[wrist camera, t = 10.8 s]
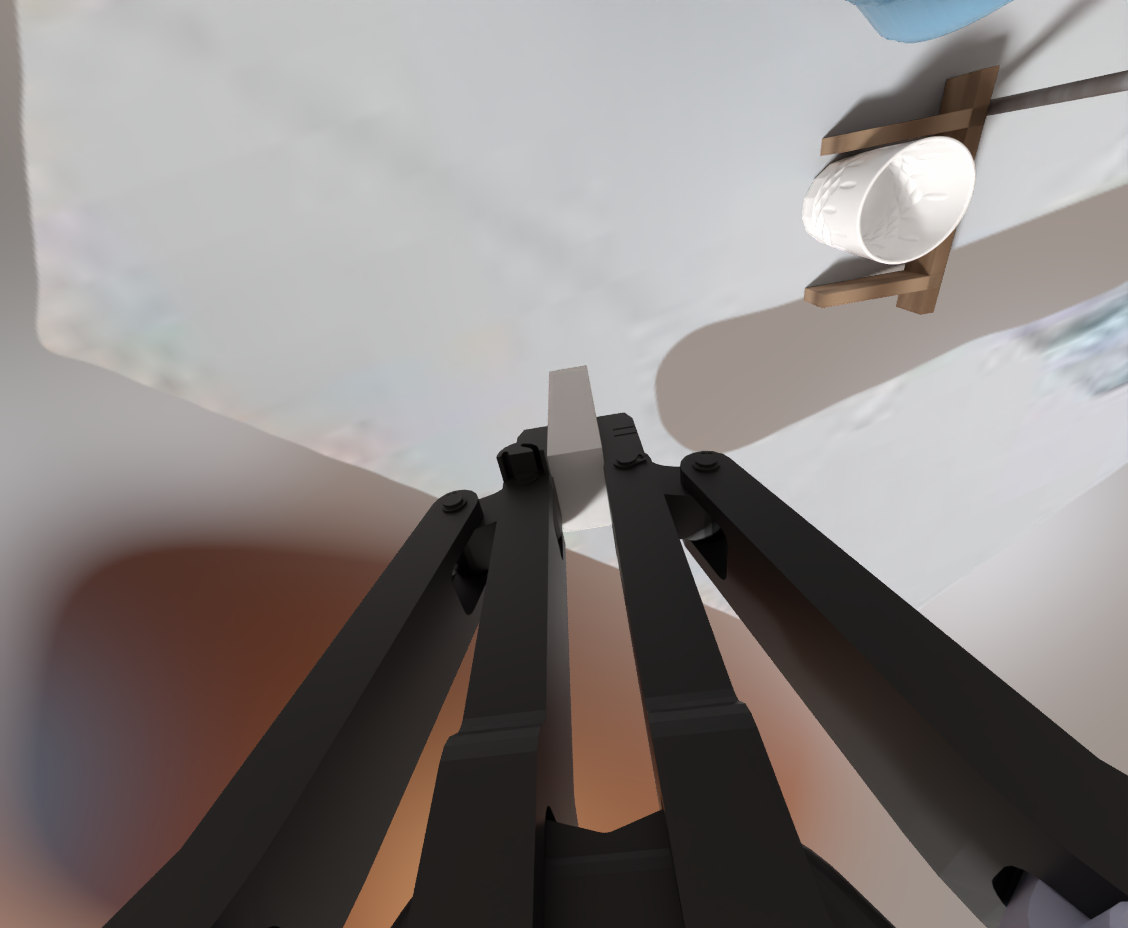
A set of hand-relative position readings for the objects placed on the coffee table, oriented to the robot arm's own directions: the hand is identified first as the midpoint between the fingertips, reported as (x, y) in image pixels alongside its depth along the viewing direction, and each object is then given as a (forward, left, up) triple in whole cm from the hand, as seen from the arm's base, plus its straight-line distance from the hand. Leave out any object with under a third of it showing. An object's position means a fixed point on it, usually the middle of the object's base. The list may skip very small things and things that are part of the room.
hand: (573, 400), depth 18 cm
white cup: (-11, +24, -30) cm, 40 cm away
